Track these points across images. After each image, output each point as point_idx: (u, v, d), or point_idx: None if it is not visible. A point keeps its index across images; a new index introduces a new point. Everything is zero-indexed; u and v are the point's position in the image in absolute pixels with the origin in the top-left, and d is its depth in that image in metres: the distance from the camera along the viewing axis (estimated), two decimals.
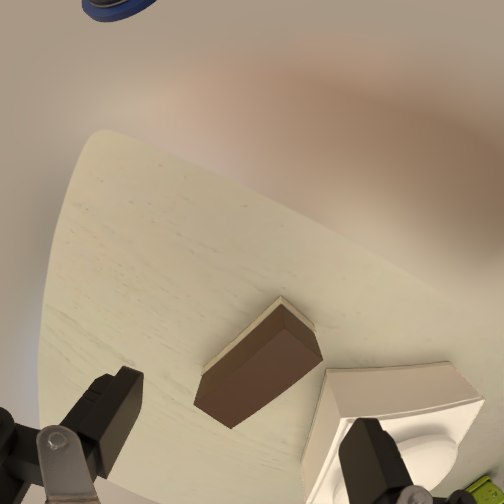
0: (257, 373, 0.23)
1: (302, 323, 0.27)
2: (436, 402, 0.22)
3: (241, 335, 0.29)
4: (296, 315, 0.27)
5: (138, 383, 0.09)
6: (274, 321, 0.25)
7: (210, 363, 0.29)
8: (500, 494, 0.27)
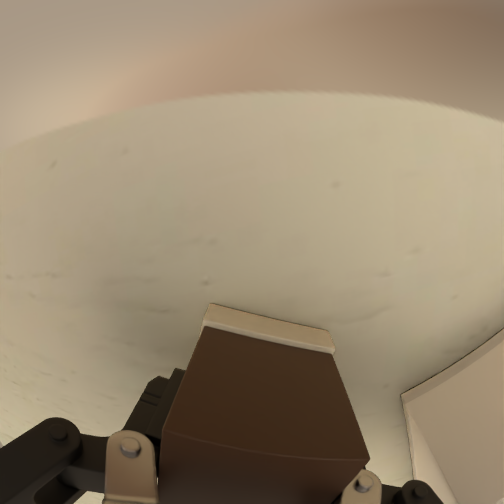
0: None
1: (285, 349, 0.09)
2: None
3: None
4: (261, 336, 0.10)
5: None
6: None
7: None
8: None
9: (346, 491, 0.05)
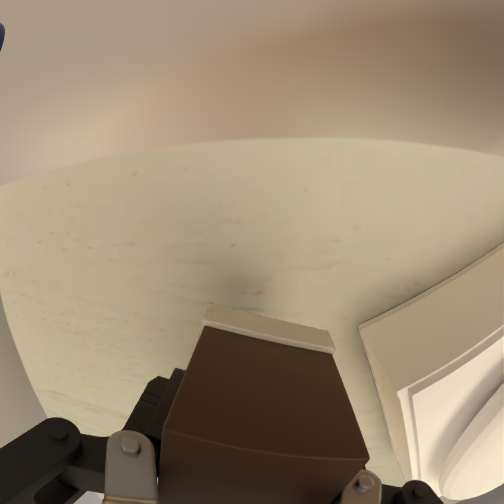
0: None
1: (285, 349, 0.09)
2: None
3: None
4: (261, 335, 0.10)
5: None
6: None
7: None
8: None
9: (346, 491, 0.05)
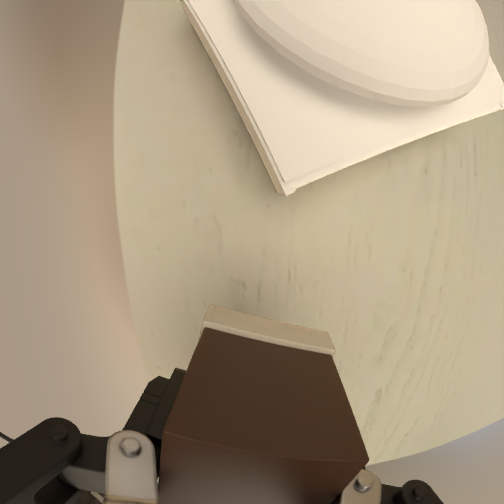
0: None
1: (285, 351, 0.09)
2: (200, 28, 0.13)
3: None
4: (261, 337, 0.10)
5: None
6: None
7: None
8: None
9: (346, 491, 0.05)
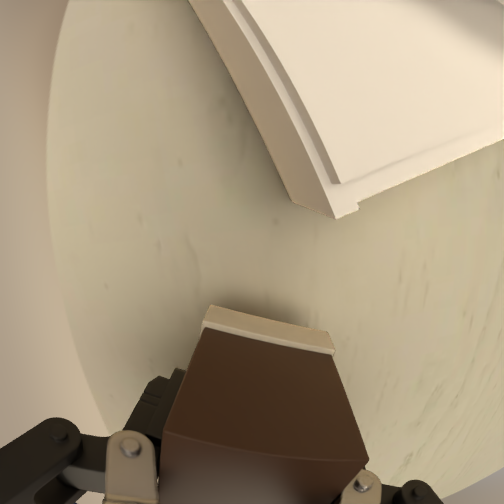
0: None
1: (285, 350, 0.09)
2: None
3: None
4: (261, 337, 0.10)
5: None
6: None
7: None
8: None
9: (346, 491, 0.05)
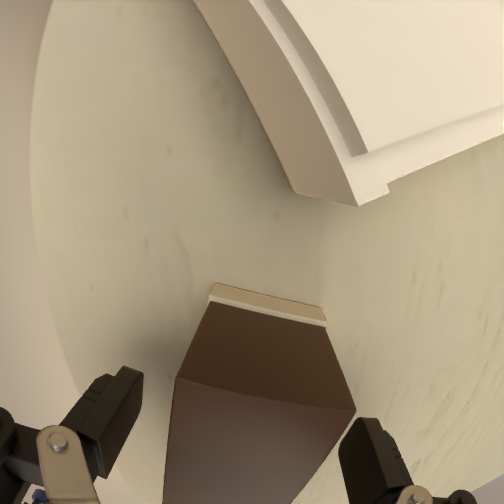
0: (208, 484, 0.07)
1: (282, 321, 0.11)
2: None
3: None
4: (260, 309, 0.11)
5: (138, 383, 0.09)
6: None
7: None
8: None
9: (400, 503, 0.05)
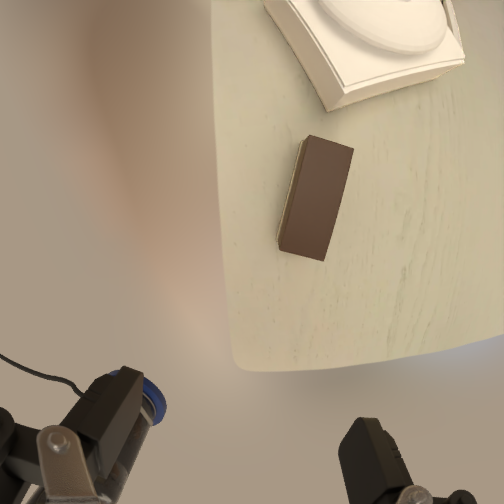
0: (312, 184, 0.27)
1: None
2: (291, 10, 0.22)
3: (289, 187, 0.33)
4: None
5: (138, 383, 0.09)
6: (303, 147, 0.29)
7: (279, 228, 0.34)
8: None
9: (400, 503, 0.05)
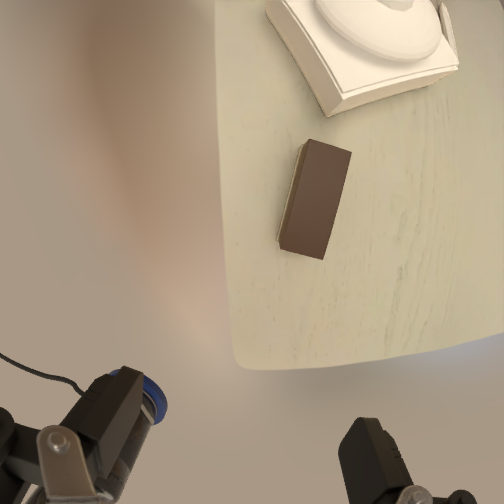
0: (312, 186, 0.28)
1: None
2: (292, 19, 0.23)
3: (289, 189, 0.34)
4: None
5: (138, 383, 0.09)
6: (303, 151, 0.30)
7: (279, 228, 0.35)
8: None
9: (400, 503, 0.05)
